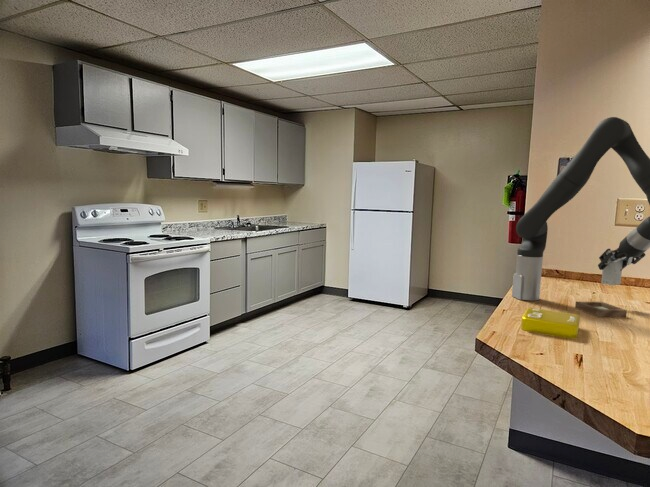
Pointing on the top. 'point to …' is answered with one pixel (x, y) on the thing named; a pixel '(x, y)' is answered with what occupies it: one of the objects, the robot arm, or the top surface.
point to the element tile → (551, 323)
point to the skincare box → (612, 273)
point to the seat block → (601, 309)
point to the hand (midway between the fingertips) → (609, 268)
